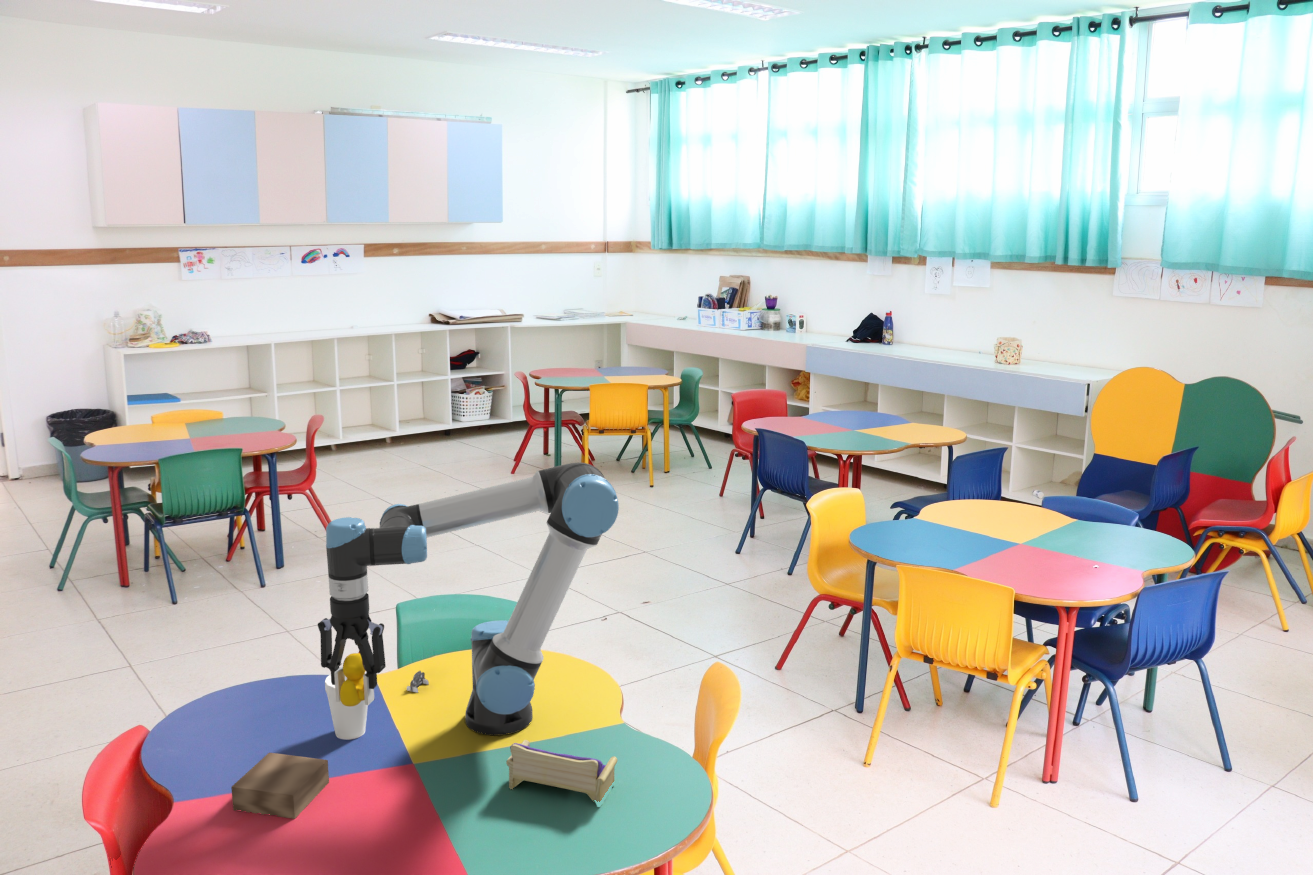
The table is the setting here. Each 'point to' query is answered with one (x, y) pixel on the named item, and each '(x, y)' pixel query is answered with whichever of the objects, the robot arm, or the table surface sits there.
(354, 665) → the duckling
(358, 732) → the foam cup
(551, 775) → the toy sofa
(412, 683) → the grey toy animal
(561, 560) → the robot arm
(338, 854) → the table surface
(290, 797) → the walnut base
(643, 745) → the table surface
